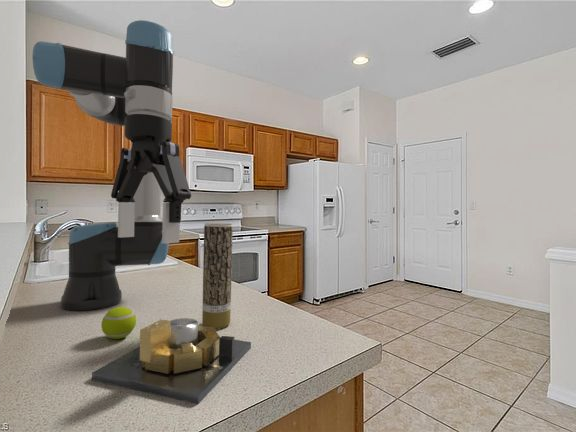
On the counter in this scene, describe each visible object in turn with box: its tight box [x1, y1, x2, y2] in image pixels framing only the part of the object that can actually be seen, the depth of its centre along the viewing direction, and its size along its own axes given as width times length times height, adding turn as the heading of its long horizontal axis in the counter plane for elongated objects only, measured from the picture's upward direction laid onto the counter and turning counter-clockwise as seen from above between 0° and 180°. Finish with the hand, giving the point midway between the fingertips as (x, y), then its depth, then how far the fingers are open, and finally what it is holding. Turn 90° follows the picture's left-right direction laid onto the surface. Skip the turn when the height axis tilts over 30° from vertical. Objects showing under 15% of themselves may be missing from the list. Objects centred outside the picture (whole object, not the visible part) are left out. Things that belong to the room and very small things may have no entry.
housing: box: [91, 317, 252, 405], centre depth 60 cm, size 20×20×7 cm
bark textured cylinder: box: [201, 222, 234, 330], centre depth 78 cm, size 7×7×25 cm
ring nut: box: [139, 319, 221, 374], centre depth 58 cm, size 16×13×8 cm
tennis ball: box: [101, 306, 137, 340], centre depth 70 cm, size 7×7×7 cm
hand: (146, 240), depth 56 cm, fingers open, 13 cm apart
